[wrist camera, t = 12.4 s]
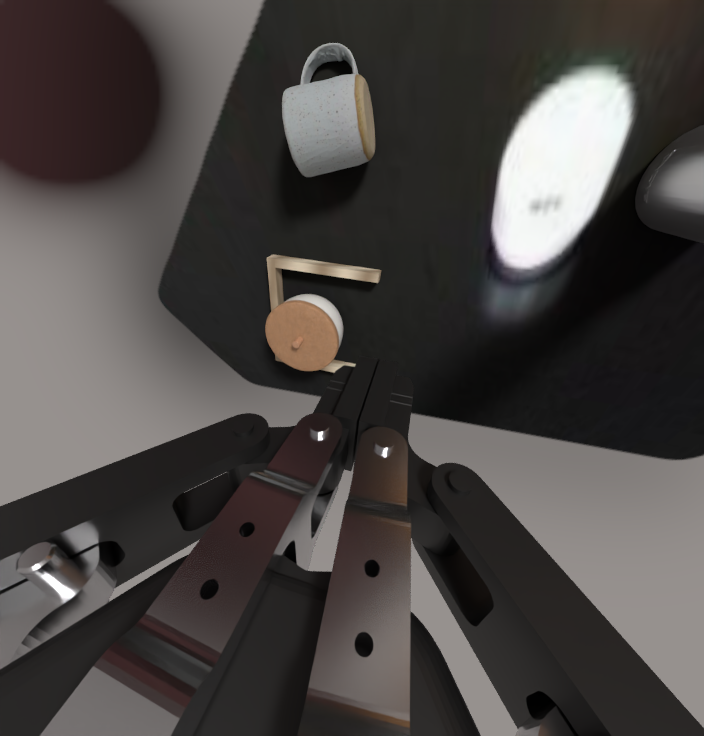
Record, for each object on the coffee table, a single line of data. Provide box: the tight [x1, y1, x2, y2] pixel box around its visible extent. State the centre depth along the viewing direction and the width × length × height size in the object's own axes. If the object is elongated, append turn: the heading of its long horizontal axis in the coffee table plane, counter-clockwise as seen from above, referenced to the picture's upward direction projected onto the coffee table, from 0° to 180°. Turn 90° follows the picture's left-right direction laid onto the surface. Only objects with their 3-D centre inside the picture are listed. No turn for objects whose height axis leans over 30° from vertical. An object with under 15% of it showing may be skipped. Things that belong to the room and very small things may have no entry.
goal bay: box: [267, 255, 381, 373], centre depth 46 cm, size 16×17×2 cm
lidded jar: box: [265, 294, 343, 371], centre depth 44 cm, size 11×11×9 cm
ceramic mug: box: [282, 43, 375, 177], centre depth 30 cm, size 11×8×8 cm
